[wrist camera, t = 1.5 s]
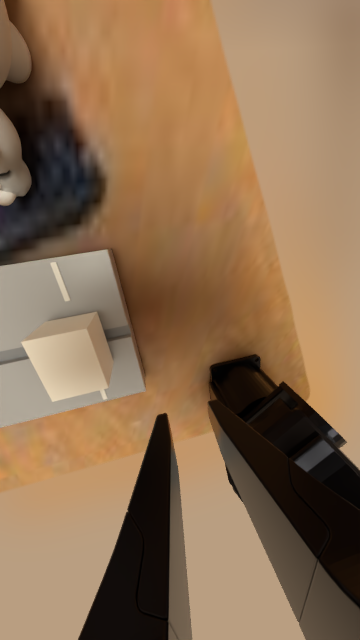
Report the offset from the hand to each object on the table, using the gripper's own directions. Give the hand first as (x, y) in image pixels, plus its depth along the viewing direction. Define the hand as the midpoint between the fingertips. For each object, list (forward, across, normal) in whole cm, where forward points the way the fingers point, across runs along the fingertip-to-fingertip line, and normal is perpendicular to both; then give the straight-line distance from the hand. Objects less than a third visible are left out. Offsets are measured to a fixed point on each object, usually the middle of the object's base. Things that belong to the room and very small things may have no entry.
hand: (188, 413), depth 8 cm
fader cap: (+11, +7, 0) cm, 13 cm away
